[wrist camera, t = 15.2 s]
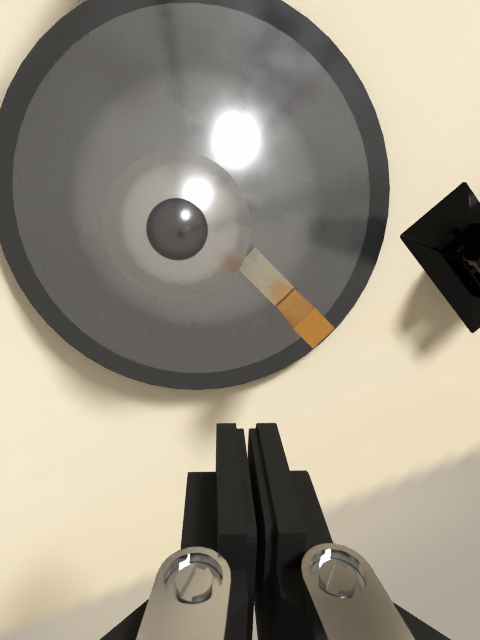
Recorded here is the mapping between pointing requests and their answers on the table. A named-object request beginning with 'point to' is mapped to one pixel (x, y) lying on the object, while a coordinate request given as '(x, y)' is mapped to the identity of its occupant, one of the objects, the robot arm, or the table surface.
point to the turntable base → (3, 134)
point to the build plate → (451, 251)
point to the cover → (176, 225)
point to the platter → (219, 146)
